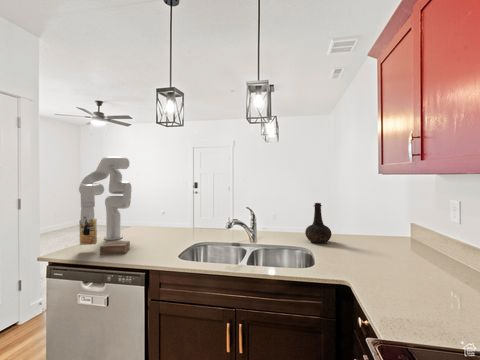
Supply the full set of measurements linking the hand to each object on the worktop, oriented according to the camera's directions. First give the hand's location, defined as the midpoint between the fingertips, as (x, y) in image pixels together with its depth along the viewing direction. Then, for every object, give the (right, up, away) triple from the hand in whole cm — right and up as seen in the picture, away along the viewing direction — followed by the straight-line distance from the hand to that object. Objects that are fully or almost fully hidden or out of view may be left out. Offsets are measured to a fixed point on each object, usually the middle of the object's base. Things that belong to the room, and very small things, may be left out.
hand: (88, 233), depth 172 cm
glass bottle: (+149, -11, +27) cm, 152 cm away
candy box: (0, -7, 0) cm, 7 cm away
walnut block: (+17, -11, -1) cm, 20 cm away
